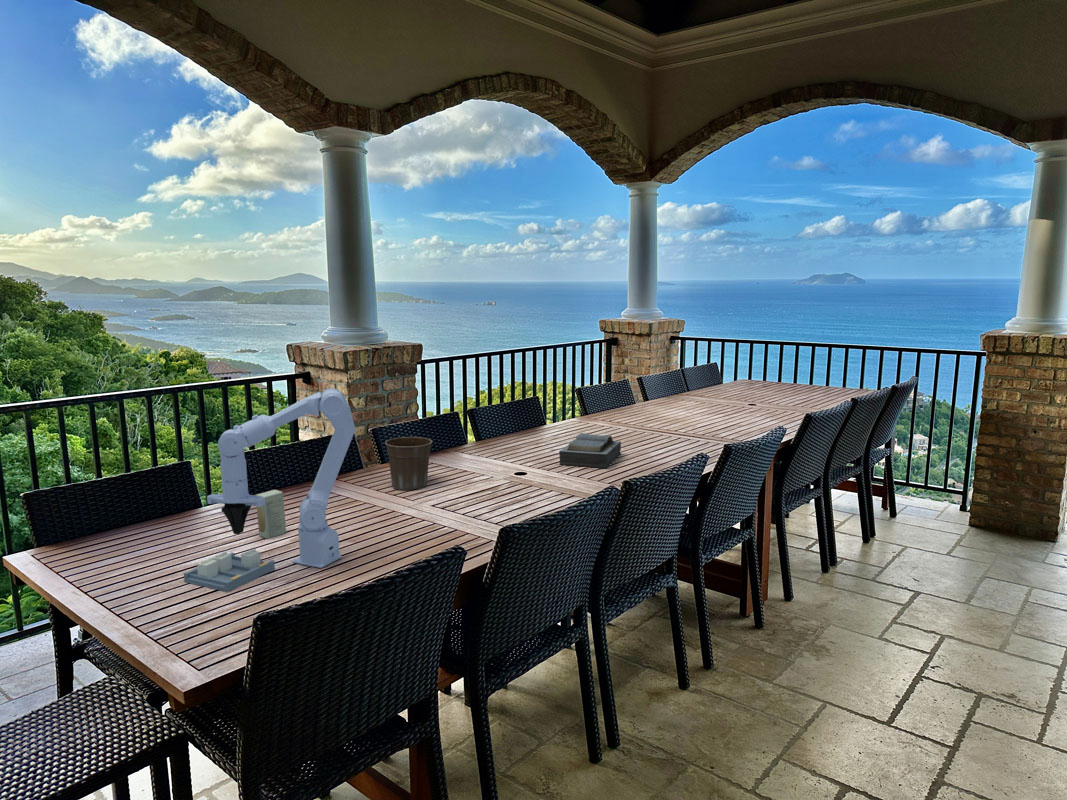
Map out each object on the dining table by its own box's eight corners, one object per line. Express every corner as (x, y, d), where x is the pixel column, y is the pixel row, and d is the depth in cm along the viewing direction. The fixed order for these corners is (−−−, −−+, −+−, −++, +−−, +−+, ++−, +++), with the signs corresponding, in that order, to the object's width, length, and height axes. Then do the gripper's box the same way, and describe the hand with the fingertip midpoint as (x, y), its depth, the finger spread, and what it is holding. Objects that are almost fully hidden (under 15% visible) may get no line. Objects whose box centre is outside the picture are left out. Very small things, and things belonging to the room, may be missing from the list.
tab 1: (218, 574, 167) (217, 558, 167) (207, 579, 165) (205, 563, 164) (209, 572, 169) (207, 556, 168) (198, 577, 166) (196, 561, 165)
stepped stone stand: (631, 458, 287) (631, 434, 286) (602, 472, 264) (602, 447, 263) (581, 451, 299) (581, 428, 298) (549, 465, 276) (549, 440, 275)
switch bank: (274, 569, 173) (273, 560, 173) (227, 592, 160) (227, 582, 160) (232, 560, 179) (231, 551, 178) (184, 581, 166) (183, 572, 165)
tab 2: (232, 568, 171) (231, 552, 171) (221, 573, 168) (220, 556, 168) (223, 566, 172) (222, 550, 172) (212, 571, 170) (211, 555, 169)
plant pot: (438, 480, 253) (437, 436, 251) (427, 493, 237) (425, 446, 235) (394, 479, 255) (392, 436, 252) (380, 492, 239) (378, 446, 236)
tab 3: (260, 565, 173) (259, 549, 172) (250, 570, 170) (249, 554, 169) (251, 563, 174) (250, 547, 174) (241, 568, 171) (240, 552, 171)
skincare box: (278, 529, 202) (276, 488, 200) (286, 533, 199) (284, 491, 197) (257, 536, 197) (254, 493, 195) (265, 539, 194) (263, 496, 192)
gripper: (270, 476, 173) (274, 529, 175) (218, 473, 175) (222, 525, 178) (253, 484, 166) (257, 539, 168) (199, 481, 169) (204, 535, 171)
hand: (238, 532), depth 172 cm, fingers closed
